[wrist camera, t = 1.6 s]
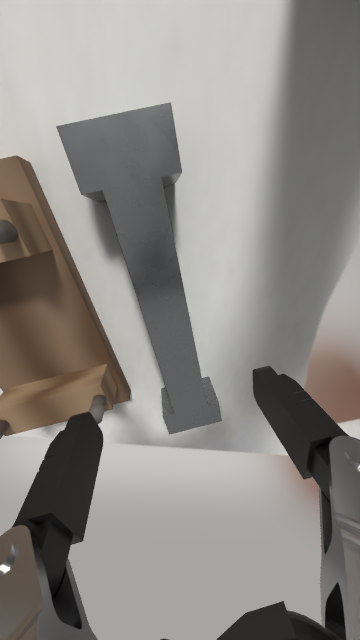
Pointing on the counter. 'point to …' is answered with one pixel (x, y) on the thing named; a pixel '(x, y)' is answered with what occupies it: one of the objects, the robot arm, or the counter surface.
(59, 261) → the rack
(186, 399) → the grey flared end bar
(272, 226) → the counter surface
